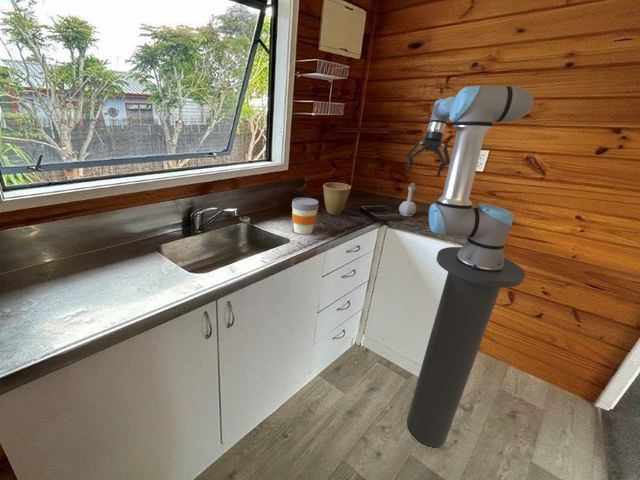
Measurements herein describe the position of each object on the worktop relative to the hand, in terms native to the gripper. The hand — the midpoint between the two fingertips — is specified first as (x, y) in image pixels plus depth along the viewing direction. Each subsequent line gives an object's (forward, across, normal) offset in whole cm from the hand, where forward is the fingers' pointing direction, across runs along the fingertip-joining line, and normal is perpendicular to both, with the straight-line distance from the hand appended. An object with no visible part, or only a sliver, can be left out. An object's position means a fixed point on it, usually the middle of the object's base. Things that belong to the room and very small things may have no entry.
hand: (423, 174), depth 156 cm
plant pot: (+30, +39, +2) cm, 49 cm away
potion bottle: (+22, +1, -14) cm, 26 cm away
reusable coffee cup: (+38, +48, +34) cm, 70 cm away
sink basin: (+26, +15, -5) cm, 30 cm away
